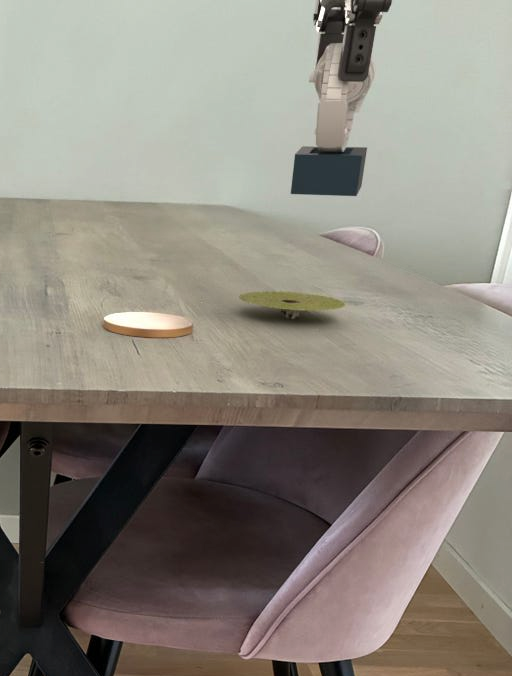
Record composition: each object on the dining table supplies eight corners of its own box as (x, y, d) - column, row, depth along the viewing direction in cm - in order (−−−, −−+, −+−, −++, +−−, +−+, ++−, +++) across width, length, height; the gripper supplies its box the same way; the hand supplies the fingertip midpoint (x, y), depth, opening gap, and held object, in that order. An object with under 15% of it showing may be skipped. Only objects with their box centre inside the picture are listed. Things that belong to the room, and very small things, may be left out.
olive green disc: (348, 331, 98) (351, 311, 97) (238, 324, 100) (240, 304, 99) (335, 312, 108) (338, 294, 107) (235, 305, 109) (237, 288, 108)
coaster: (187, 321, 100) (188, 313, 100) (197, 339, 92) (198, 331, 92) (102, 318, 100) (102, 310, 100) (104, 335, 92) (105, 327, 92)
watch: (363, 182, 86) (385, 38, 80) (354, 200, 80) (376, 46, 73) (300, 180, 88) (316, 39, 81) (286, 198, 82) (302, 47, 75)
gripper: (462, -194, 65) (410, 82, 73) (397, -145, 77) (359, 86, 85) (352, -197, 65) (312, 79, 73) (305, -147, 77) (275, 84, 85)
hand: (337, 83), depth 79 cm, fingers closed on watch, 8 cm apart
